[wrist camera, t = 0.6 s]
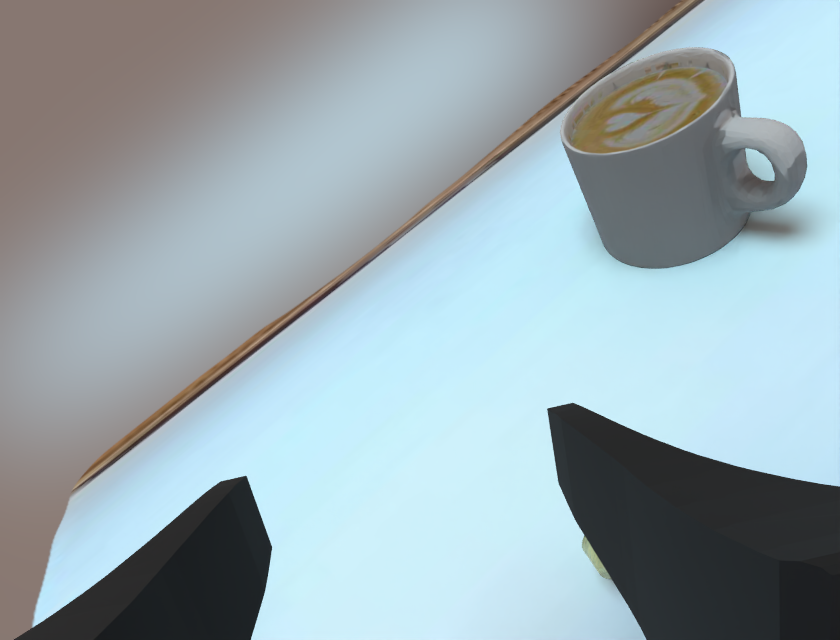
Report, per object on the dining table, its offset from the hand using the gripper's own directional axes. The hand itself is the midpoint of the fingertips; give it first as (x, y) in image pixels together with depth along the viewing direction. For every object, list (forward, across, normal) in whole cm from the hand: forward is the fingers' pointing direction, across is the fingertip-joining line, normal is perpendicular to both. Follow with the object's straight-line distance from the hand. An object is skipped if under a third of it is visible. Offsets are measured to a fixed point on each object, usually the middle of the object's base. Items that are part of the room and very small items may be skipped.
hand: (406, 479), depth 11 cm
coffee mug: (+24, -22, +1) cm, 32 cm away
